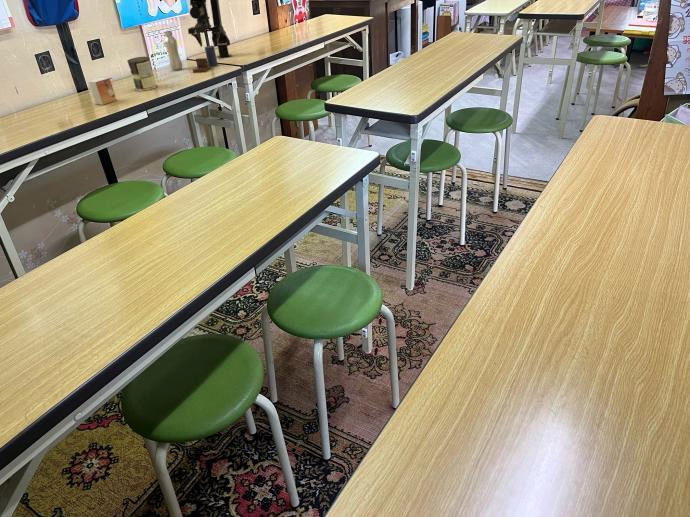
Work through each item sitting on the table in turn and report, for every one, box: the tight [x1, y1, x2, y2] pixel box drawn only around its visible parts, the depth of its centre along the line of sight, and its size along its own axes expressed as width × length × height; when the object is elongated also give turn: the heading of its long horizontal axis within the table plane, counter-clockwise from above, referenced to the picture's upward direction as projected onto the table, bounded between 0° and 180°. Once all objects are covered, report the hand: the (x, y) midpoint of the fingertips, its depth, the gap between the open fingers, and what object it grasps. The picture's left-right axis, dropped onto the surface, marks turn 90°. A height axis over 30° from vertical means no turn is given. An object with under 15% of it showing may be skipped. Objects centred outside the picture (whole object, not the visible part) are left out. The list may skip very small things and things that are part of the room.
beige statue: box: [164, 30, 183, 71], centre depth 285 cm, size 6×7×20 cm
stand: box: [192, 57, 212, 73], centre depth 283 cm, size 8×7×6 cm
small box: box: [88, 77, 117, 106], centre depth 242 cm, size 8×6×10 cm
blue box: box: [204, 45, 219, 68], centre depth 289 cm, size 11×5×11 cm
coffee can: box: [126, 56, 157, 92], centre depth 258 cm, size 10×10×14 cm
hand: (209, 46), depth 287 cm, fingers open, 9 cm apart
